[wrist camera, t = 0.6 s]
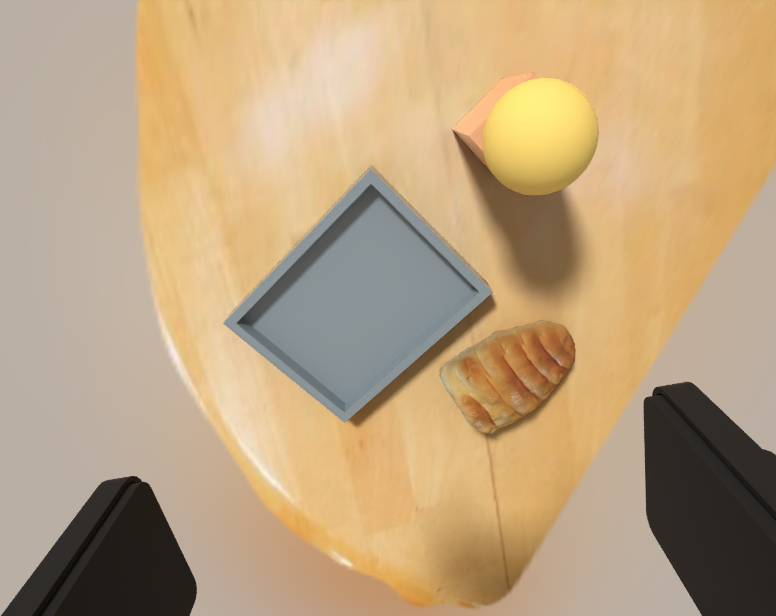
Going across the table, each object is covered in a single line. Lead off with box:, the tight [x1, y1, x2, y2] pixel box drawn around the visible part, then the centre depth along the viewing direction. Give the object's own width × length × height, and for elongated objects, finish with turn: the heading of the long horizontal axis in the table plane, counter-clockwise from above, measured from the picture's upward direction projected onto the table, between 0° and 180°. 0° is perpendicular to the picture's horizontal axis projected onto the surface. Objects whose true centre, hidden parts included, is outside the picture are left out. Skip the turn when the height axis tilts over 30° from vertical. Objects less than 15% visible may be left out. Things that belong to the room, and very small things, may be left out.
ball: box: [482, 78, 599, 195], centre depth 23 cm, size 5×5×5 cm
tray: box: [223, 165, 493, 422], centre depth 35 cm, size 14×11×2 cm
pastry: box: [440, 321, 575, 434], centre depth 36 cm, size 9×7×4 cm
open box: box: [452, 72, 538, 194], centre depth 28 cm, size 4×4×7 cm
